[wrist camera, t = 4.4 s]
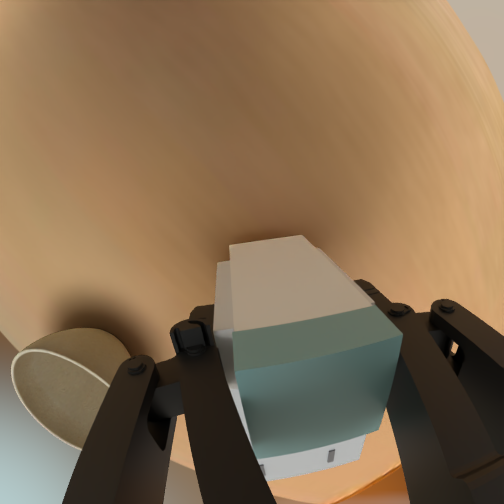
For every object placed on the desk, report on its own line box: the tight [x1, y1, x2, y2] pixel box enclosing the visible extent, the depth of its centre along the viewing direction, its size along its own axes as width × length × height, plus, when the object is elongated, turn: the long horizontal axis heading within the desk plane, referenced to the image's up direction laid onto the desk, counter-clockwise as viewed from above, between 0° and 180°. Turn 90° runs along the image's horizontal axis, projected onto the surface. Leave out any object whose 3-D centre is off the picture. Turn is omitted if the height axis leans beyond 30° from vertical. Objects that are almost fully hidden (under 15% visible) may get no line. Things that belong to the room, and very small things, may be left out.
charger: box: [229, 235, 403, 459], centre depth 11 cm, size 4×4×10 cm
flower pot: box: [11, 328, 131, 451], centre depth 16 cm, size 10×10×7 cm
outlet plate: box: [230, 389, 366, 481], centre depth 21 cm, size 18×14×3 cm
